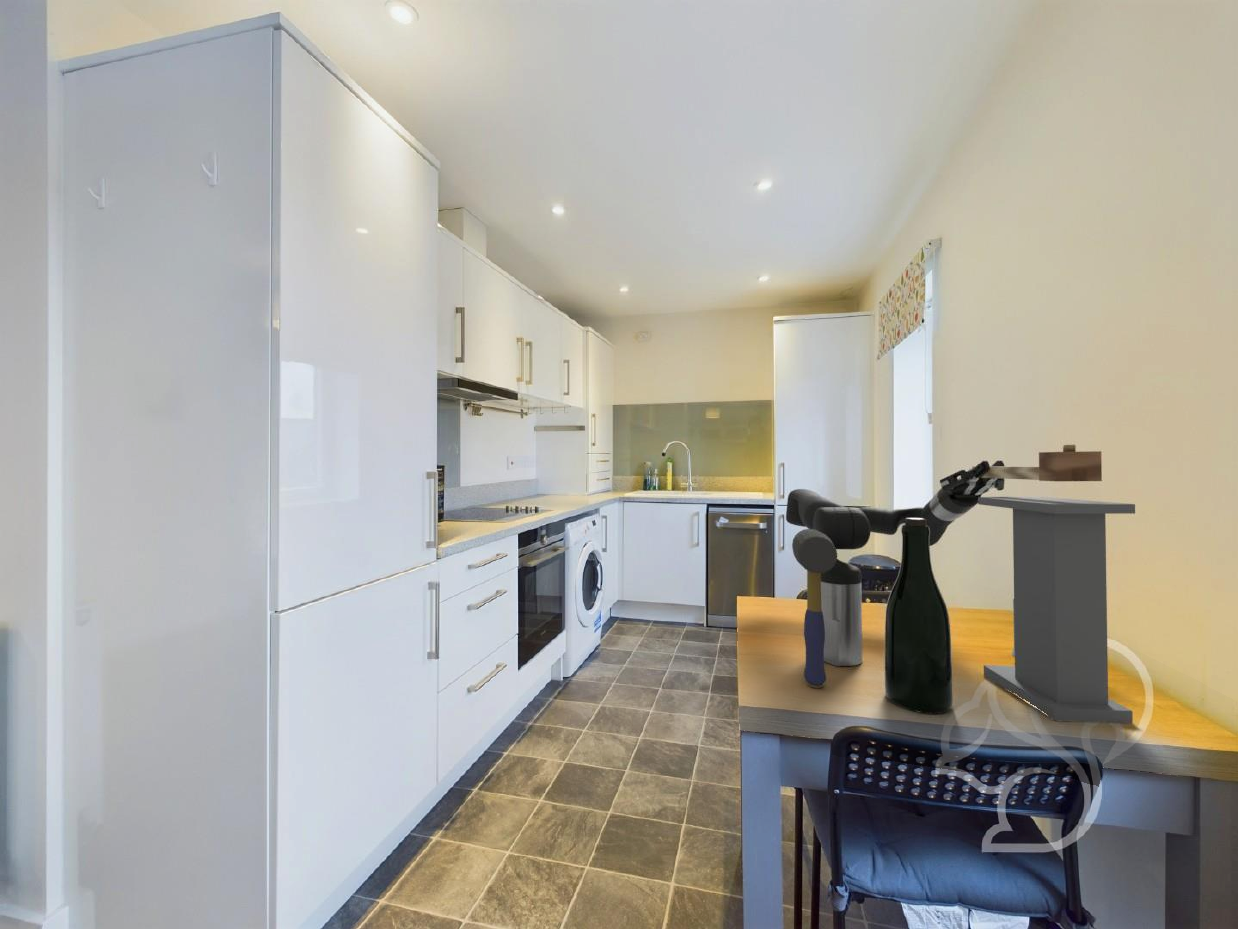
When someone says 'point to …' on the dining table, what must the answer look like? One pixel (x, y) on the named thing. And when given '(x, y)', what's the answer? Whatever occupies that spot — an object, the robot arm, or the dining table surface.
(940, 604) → the dark green wine bottle
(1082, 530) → the plinth
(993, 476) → the marking gauge
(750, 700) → the dining table surface
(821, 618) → the rubber mallet
